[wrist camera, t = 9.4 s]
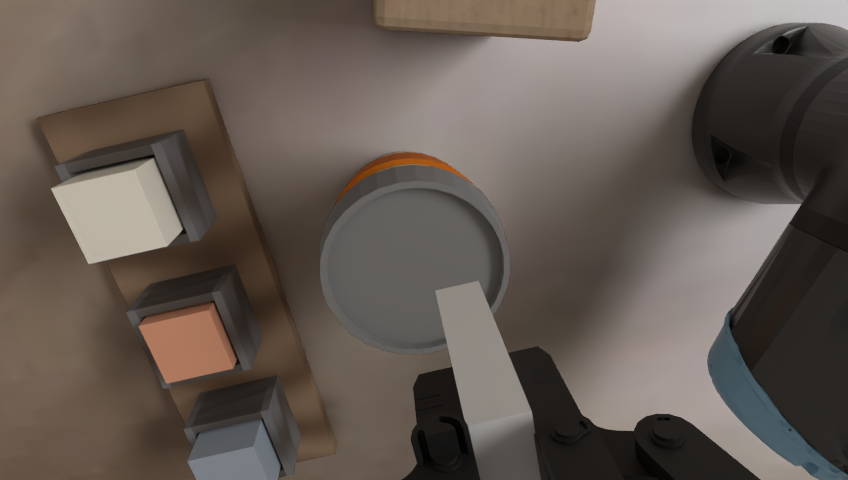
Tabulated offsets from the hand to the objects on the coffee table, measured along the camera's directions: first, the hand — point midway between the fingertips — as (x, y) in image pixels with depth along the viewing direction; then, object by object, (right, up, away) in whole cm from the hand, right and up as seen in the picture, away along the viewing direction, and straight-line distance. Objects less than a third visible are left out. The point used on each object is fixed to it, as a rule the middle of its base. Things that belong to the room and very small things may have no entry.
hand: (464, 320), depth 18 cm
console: (-21, -3, +31) cm, 38 cm away
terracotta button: (-21, -4, +29) cm, 36 cm away
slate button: (-18, -16, +32) cm, 40 cm away
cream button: (-23, +6, +22) cm, 33 cm away
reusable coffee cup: (-3, +6, +29) cm, 30 cm away
